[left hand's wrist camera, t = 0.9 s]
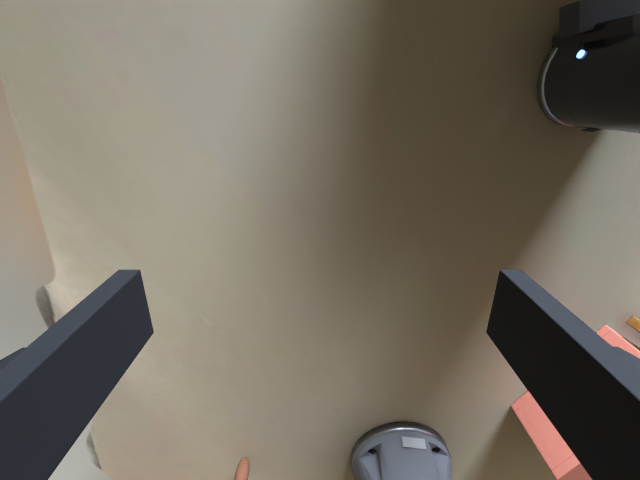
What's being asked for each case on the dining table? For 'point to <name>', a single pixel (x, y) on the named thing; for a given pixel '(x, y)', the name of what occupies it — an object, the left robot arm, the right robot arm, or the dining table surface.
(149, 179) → the dining table surface
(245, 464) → the brown ellipsoid
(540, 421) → the cabinet
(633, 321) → the drawer
